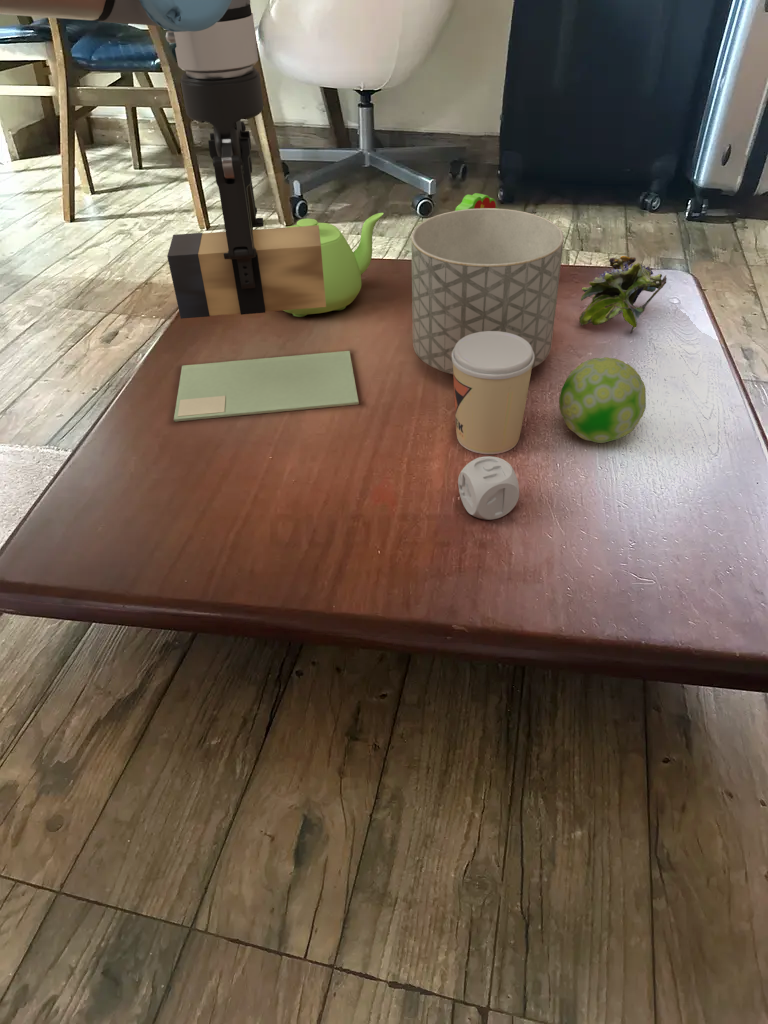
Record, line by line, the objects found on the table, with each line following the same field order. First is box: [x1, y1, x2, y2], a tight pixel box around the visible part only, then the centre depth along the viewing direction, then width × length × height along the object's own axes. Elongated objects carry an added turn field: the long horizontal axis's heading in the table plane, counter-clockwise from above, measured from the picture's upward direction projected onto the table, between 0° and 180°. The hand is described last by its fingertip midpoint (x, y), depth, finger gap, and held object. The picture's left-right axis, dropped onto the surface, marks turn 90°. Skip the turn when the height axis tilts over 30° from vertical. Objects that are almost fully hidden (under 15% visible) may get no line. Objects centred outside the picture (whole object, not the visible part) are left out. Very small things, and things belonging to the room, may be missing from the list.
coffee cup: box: [452, 331, 534, 455], centre depth 92 cm, size 9×9×12 cm
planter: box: [410, 207, 565, 375], centre depth 104 cm, size 19×19×18 cm
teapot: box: [282, 212, 384, 318], centre depth 122 cm, size 22×15×13 cm
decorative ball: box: [558, 356, 647, 444], centre depth 92 cm, size 10×10×10 cm
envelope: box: [173, 350, 360, 423], centre depth 107 cm, size 24×14×1 cm, turn 97°
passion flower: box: [579, 255, 668, 335], centre depth 115 cm, size 11×11×12 cm
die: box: [457, 455, 520, 521], centre depth 84 cm, size 5×5×5 cm
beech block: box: [166, 225, 326, 319], centre depth 87 cm, size 16×6×7 cm, turn 96°
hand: (253, 298), depth 89 cm, fingers closed on beech block, 6 cm apart
